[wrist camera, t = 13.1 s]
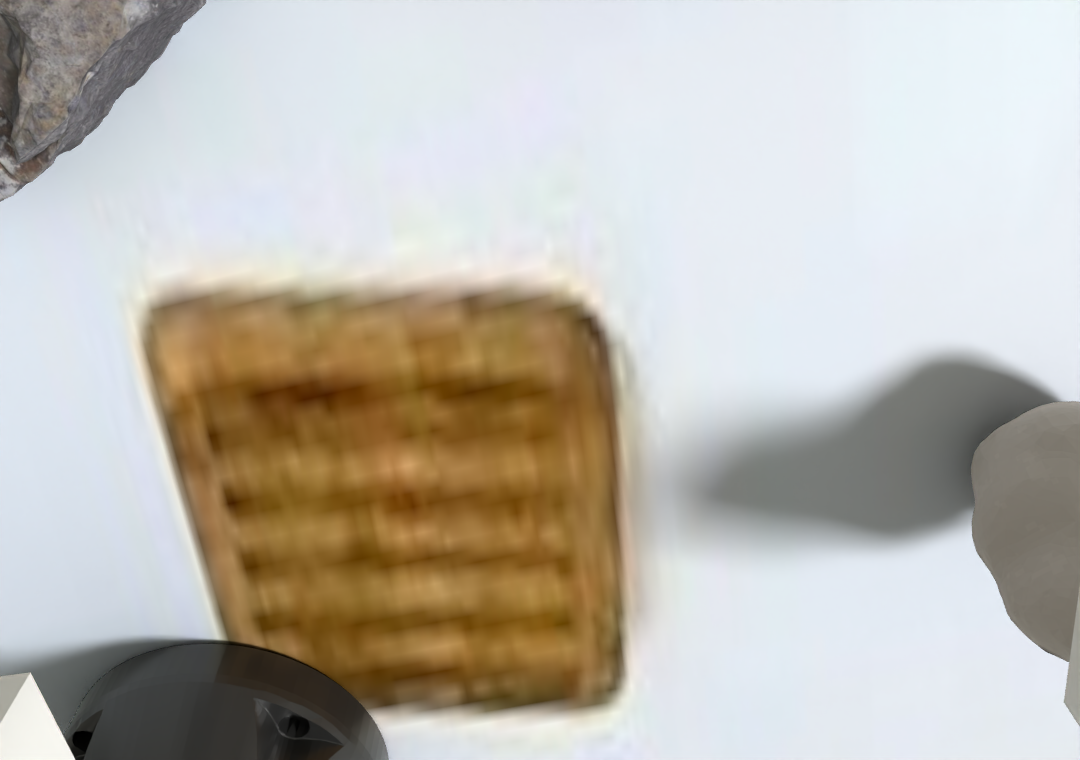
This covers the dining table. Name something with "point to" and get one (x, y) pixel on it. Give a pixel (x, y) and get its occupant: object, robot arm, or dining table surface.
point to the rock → (71, 71)
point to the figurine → (1033, 520)
